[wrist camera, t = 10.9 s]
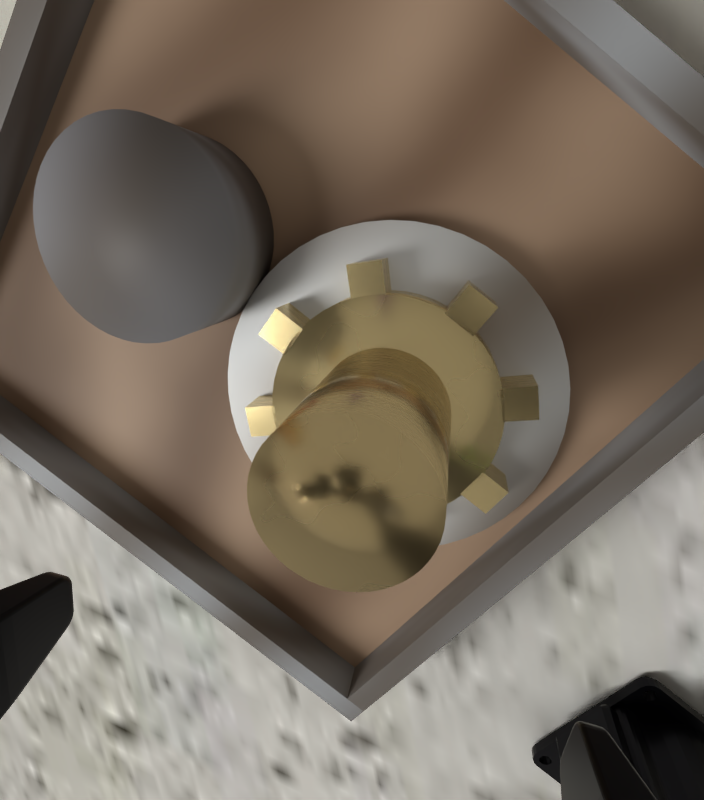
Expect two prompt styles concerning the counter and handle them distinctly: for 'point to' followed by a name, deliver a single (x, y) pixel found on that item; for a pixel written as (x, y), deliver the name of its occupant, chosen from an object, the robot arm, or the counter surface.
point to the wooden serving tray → (341, 274)
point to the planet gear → (378, 430)
